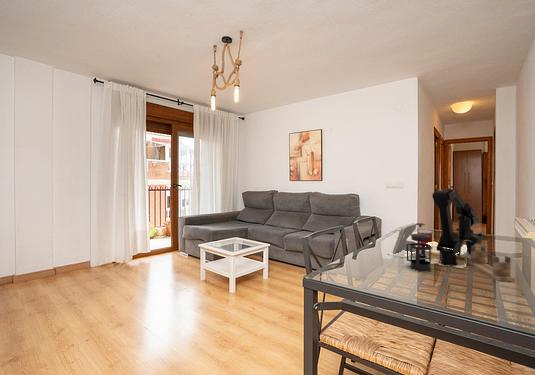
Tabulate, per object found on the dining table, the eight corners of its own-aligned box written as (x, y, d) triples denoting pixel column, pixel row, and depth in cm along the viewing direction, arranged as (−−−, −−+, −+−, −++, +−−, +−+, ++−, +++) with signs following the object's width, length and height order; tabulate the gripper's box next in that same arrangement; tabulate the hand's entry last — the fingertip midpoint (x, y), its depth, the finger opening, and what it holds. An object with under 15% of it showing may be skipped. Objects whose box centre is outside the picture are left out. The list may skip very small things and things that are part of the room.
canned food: (434, 249, 172) (434, 232, 172) (421, 250, 172) (421, 232, 172) (427, 246, 180) (427, 229, 179) (415, 247, 180) (415, 230, 180)
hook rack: (498, 281, 121) (498, 258, 121) (467, 263, 145) (467, 244, 144) (514, 281, 120) (514, 259, 120) (481, 264, 144) (481, 245, 143)
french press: (435, 268, 140) (435, 223, 139) (429, 273, 133) (429, 226, 132) (410, 263, 148) (410, 220, 147) (403, 268, 141) (403, 223, 140)
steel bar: (484, 263, 145) (484, 258, 145) (444, 253, 166) (444, 248, 166) (487, 263, 146) (487, 257, 146) (447, 252, 167) (447, 248, 167)
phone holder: (400, 249, 176) (400, 221, 175) (417, 252, 168) (417, 223, 167) (386, 254, 165) (386, 224, 165) (404, 258, 157) (403, 227, 157)
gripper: (467, 231, 145) (467, 261, 145) (491, 228, 151) (491, 256, 152) (447, 228, 155) (447, 255, 156) (470, 225, 162) (469, 251, 162)
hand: (464, 254), depth 156 cm, fingers open, 9 cm apart
